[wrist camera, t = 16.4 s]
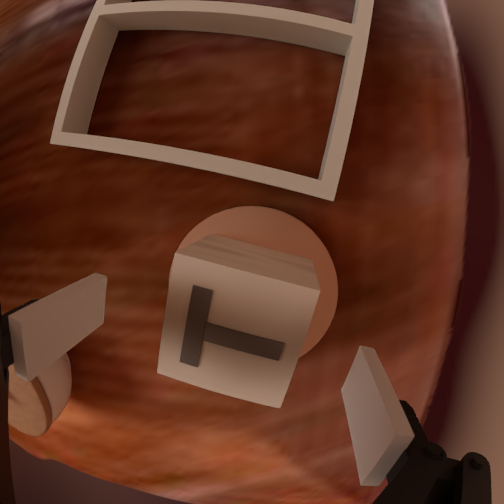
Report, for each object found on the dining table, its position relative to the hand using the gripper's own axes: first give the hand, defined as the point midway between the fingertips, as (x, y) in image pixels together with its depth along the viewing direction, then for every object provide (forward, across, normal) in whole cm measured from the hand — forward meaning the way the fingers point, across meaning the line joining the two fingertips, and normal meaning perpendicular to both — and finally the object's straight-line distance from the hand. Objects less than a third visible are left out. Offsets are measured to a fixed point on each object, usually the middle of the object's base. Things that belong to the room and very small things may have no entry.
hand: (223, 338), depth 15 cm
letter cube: (+7, 0, 0) cm, 7 cm away
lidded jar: (+10, +18, +14) cm, 25 cm away
